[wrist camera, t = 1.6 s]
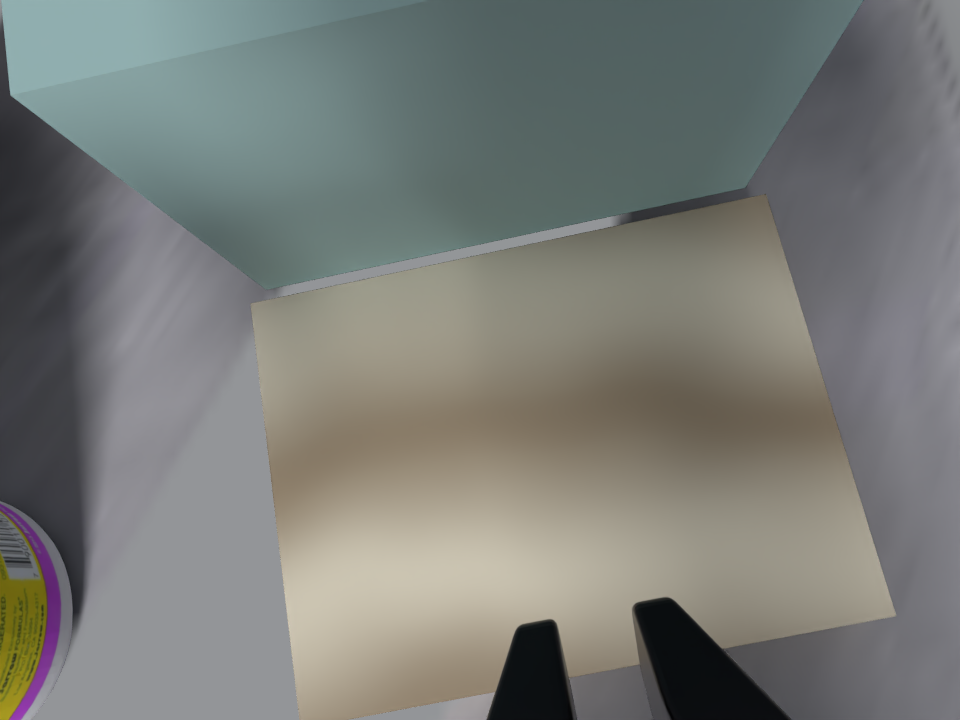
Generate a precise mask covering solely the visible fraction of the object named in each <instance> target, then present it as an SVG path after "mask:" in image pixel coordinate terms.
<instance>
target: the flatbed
mask: <svg viewBox="0 0 960 720" xmlns="http://www.w3.org/2000/svg"><path fill="white" fill-rule="evenodd" d="M250 304H251V313H252V321H253V329H254V338H255V346H256V355H257V363H258V372H259V380H260V388H261V397H262V404H263V405H262V406H263V414H264V423H265V430H266V439H267V448H268V455H269V465H270V473H271V482H272V490H273V498H274V507H275V516H276V524H277V533H278V541H279V549H280V558H281V566H282V575H283V583H284V592H285V600H286V608H287V617H288V626H289V633H290V641H291V642H290V643H291V651H292V659H293V668H294V676H295V685H296V692H297V701H298V710H299V719H300V720H348V719H354V718H359V717H364V716H370V715H375V714H380V713H386V712H391V711H396V710H401V709H407V708H411V707H417V706H423V705H428V704H433V703H439V702H444V701H449V700H455V699H460V698H465V697H470V696H476V695H481V694H486V693H492V692H496V688H497V685H498V682H499V679H500V676H501V673H502V670H503V666H504V663H505V660H506V657H507V654H508V651H509V648H510V644H511V641H512V638H513V635H514V632H515V630H516V629H517V627H518V626H519V625H522V624H525V623H531V622H536V621H541V620H546V619H552V620H554V621H555V622H556V623H557V625H558V629H559V634H560V639H561V643H562V648H563V652H564V657H565V661H566V666H567V671H568V675H569V678H571V677H576V676H582V675H587V674H592V673H598V672H603V671H608V670H614V669H619V668H624V667H630V666H635V665H640V662H639V656H638V650H637V643H636V637H635V630H634V624H633V617H632V607H633V605H634V604H635V603H637V602H641V601H646V600H651V599H656V598H662V597H669V598H672V599H673V600H675V601H676V602H677V603H678V604H679V605H680V606H681V607H682V608H683V609H684V610H685V611H686V612H687V613H688V614H689V615H690V616H691V617H692V618H693V619H694V620H695V621H696V622H697V624H698V625H699V626H700V627H701V628H702V629H703V630H704V631H705V632H706V633H707V634H708V635H709V636H710V637H711V638H712V639H713V640H714V641H715V642H716V643H717V644H718V645H719V646H720V647H721V648H722V649H725V648H730V647H736V646H741V645H746V644H751V643H757V642H762V641H767V640H773V639H778V638H783V637H789V636H794V635H799V634H805V633H810V632H815V631H820V630H826V629H831V628H836V627H842V626H847V625H852V624H858V623H863V622H868V621H873V620H879V619H884V618H889V617H895V616H896V614H895V610H894V607H893V604H892V601H891V597H890V594H889V591H888V588H887V584H886V581H885V578H884V575H883V571H882V568H881V565H880V562H879V558H878V555H877V552H876V549H875V546H874V542H873V539H872V536H871V533H870V529H869V526H868V523H867V520H866V516H865V513H864V510H863V507H862V503H861V500H860V497H859V494H858V490H857V487H856V484H855V481H854V478H853V474H852V471H851V468H850V465H849V461H848V458H847V455H846V452H845V448H844V445H843V442H842V439H841V435H840V432H839V429H838V426H837V422H836V419H835V416H834V413H833V410H832V406H831V403H830V400H829V397H828V393H827V390H826V387H825V384H824V380H823V377H822V374H821V371H820V367H819V364H818V361H817V358H816V354H815V351H814V348H813V345H812V341H811V338H810V335H809V332H808V329H807V325H806V322H805V319H804V316H803V312H802V309H801V306H800V303H799V299H798V296H797V293H796V290H795V286H794V283H793V280H792V277H791V273H790V270H789V267H788V264H787V261H786V257H785V254H784V251H783V248H782V244H781V241H780V238H779V235H778V231H777V228H776V225H775V222H774V218H773V215H772V212H771V209H770V205H769V202H768V199H767V196H766V194H764V195H759V196H754V197H750V198H745V199H740V200H736V201H731V202H726V203H721V204H717V205H712V206H707V207H703V208H698V209H693V210H688V211H684V212H679V213H674V214H670V215H665V216H660V217H655V218H651V219H646V220H641V221H637V222H632V223H627V224H622V225H618V226H613V227H608V228H604V229H599V230H595V231H590V232H585V233H580V234H575V235H571V236H566V237H562V238H557V239H552V240H547V241H542V242H538V243H533V244H529V245H524V246H519V247H514V248H509V249H505V250H500V251H495V252H491V253H486V254H482V255H476V256H472V257H467V258H462V259H458V260H453V261H449V262H443V263H439V264H434V265H429V266H425V267H420V268H416V269H410V270H406V271H401V272H396V273H392V274H387V275H383V276H378V277H373V278H368V279H363V280H359V281H354V282H349V283H345V284H340V285H335V286H330V287H326V288H321V289H316V290H312V291H307V292H302V293H297V294H293V295H288V296H283V297H279V298H274V299H269V300H264V301H260V302H255V303H250Z"/></svg>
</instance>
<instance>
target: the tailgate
mask: <svg viewBox="0 0 960 720" xmlns="http://www.w3.org/2000/svg"><path fill="white" fill-rule="evenodd" d="M863 1H864V0H1V3H2V13H3V24H4V34H5V44H6V55H7V65H8V75H9V85H10V95H11V96H12V97H13V98H15V99H16V100H17V101H19V102H20V103H21V104H23V105H24V106H25V107H26V108H28V109H29V110H30V111H32V112H33V113H34V114H36V115H37V116H38V117H40V118H41V119H42V120H44V121H45V122H46V123H48V124H49V125H50V126H51V127H53V128H54V129H55V130H57V131H58V132H59V133H61V134H62V135H63V136H65V137H66V138H67V139H69V140H70V141H71V142H72V143H74V144H75V145H76V146H78V147H79V148H80V149H82V150H83V151H84V152H86V153H87V154H88V155H90V156H91V157H92V158H94V159H95V160H96V161H97V162H99V163H100V164H101V165H103V166H104V167H105V168H107V169H108V170H109V171H111V172H112V173H113V174H115V175H116V176H117V177H119V178H120V179H121V180H122V181H124V182H125V183H126V184H128V185H129V186H130V187H132V188H133V189H134V190H136V191H137V192H138V193H140V194H141V195H142V196H144V197H145V198H146V199H147V200H149V201H150V202H151V203H153V204H154V205H155V206H157V207H158V208H159V209H161V210H162V211H163V212H165V213H166V214H167V215H168V216H170V217H171V218H172V219H174V220H175V221H176V222H178V223H179V224H180V225H182V226H183V227H184V228H186V229H187V230H188V231H190V232H191V233H192V234H193V235H195V236H196V237H197V238H199V239H200V240H201V241H203V242H204V243H205V244H207V245H208V246H209V247H211V248H212V249H213V250H215V251H216V252H217V253H218V254H220V255H221V256H222V257H224V258H225V259H226V260H228V261H229V262H230V263H232V264H233V265H234V266H236V267H237V268H238V269H239V270H241V271H242V272H243V273H245V274H246V275H247V276H249V277H250V278H251V279H253V280H254V281H255V282H257V283H258V284H259V285H261V286H262V287H263V288H264V289H266V290H268V289H272V288H277V287H282V286H286V285H291V284H296V283H300V282H305V281H309V280H315V279H319V278H324V277H329V276H333V275H338V274H343V273H347V272H352V271H357V270H362V269H366V268H371V267H376V266H380V265H385V264H390V263H394V262H399V261H404V260H408V259H413V258H418V257H423V256H427V255H432V254H436V253H441V252H446V251H451V250H455V249H460V248H464V247H470V246H474V245H478V244H484V243H488V242H493V241H498V240H502V239H507V238H512V237H517V236H521V235H526V234H531V233H535V232H540V231H544V230H549V229H554V228H559V227H563V226H568V225H573V224H578V223H582V222H587V221H592V220H596V219H601V218H606V217H611V216H615V215H620V214H625V213H629V212H634V211H639V210H643V209H648V208H653V207H658V206H662V205H667V204H672V203H676V202H681V201H686V200H690V199H695V198H700V197H705V196H709V195H714V194H719V193H723V192H728V191H733V190H737V189H742V188H746V186H747V184H748V183H749V181H750V180H751V178H752V176H753V175H754V173H755V172H756V170H757V169H758V167H759V165H760V164H761V162H762V161H763V159H764V157H765V156H766V154H767V153H768V151H769V150H770V148H771V146H772V145H773V143H774V142H775V140H776V138H777V137H778V135H779V134H780V132H781V130H782V129H783V127H784V126H785V124H786V123H787V121H788V119H789V118H790V116H791V115H792V113H793V111H794V110H795V108H796V107H797V105H798V104H799V102H800V100H801V99H802V97H803V96H804V94H805V92H806V91H807V89H808V88H809V86H810V85H811V83H812V81H813V80H814V78H815V77H816V75H817V73H818V72H819V70H820V69H821V67H822V66H823V64H824V62H825V61H826V59H827V58H828V56H829V54H830V53H831V51H832V50H833V48H834V46H835V45H836V43H837V42H838V40H839V39H840V37H841V35H842V34H843V32H844V31H845V29H846V27H847V26H848V24H849V23H850V21H851V20H852V18H853V16H854V15H855V13H856V12H857V10H858V8H859V7H860V5H861V4H862V2H863Z"/></svg>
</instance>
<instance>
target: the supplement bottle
mask: <svg viewBox="0 0 960 720" xmlns="http://www.w3.org/2000/svg"><path fill="white" fill-rule="evenodd" d="M72 616H73V607H72V594H71V588H70V582H69V578H68V575H67V571H66V568H65V565H64V562H63V560H62V558H61V556H60V553H59V551H58V550H57V548H56V546H55V545H54V543H53V541H52V540H51V539H50V538H49V536H48V535H47V534H46V533H45V532H44V530H43V529H42V528H41V527H40V526H39V525H38V524H37V523H36V522H35V521H34V520H32V519H31V518H30V517H28V516H27V515H26V514H24V513H23V512H21V511H20V510H18V509H16V508H15V507H13V506H11V505H9V504H6V503H4V502H1V501H0V720H31V719H32V718H33V717H34V716H35V714H36V713H37V712H38V711H39V709H40V708H41V707H42V705H43V704H44V702H45V701H46V699H47V697H48V696H49V694H50V693H51V691H52V690H53V688H54V686H55V684H56V681H57V679H58V677H59V675H60V673H61V670H62V668H63V666H64V663H65V660H66V657H67V653H68V650H69V646H70V641H71V635H72Z"/></svg>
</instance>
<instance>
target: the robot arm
mask: <svg viewBox="0 0 960 720" xmlns="http://www.w3.org/2000/svg"><path fill="white" fill-rule="evenodd" d="M632 617H633V624H634V630H635V637H636V643H637V650H638V656H639V662H640V667H641V672H642V676H643V680H644V684H645V688H646V692H647V696H648V700H649V704H650V708H651V712H652V716H653V720H791V719H790V718H789V717H788V715H787V714H786V713H785V712H784V711H783V710H782V709H781V708H780V707H779V706H778V705H777V704H776V703H775V702H774V701H773V700H772V699H771V698H770V697H769V696H768V695H767V694H766V693H765V692H764V691H763V690H762V689H761V688H760V687H759V686H758V685H757V684H756V683H755V682H754V681H753V680H752V679H751V678H750V677H749V676H748V675H747V674H746V673H745V672H744V671H743V670H742V668H741V667H740V666H739V665H738V664H737V663H736V662H735V661H734V660H733V659H732V658H731V657H730V656H729V655H728V654H727V653H726V652H725V651H724V650H723V649H722V648H721V647H720V646H719V645H718V644H717V643H716V642H715V641H714V640H713V639H712V638H711V637H710V636H709V635H708V634H707V633H706V632H705V631H704V630H703V629H702V628H701V627H700V626H699V625H698V624H697V622H696V621H695V620H694V619H693V618H692V617H691V616H690V615H689V614H688V613H687V612H686V611H685V610H684V609H683V608H682V607H681V606H680V605H679V604H678V603H677V602H676V601H675V600H673V599H672V598H669V597H662V598H656V599H651V600H646V601H641V602H637V603H635V604H634V605H633V607H632ZM487 720H577V716H576V711H575V705H574V700H573V695H572V690H571V685H570V680H569V675H568V671H567V666H566V661H565V657H564V652H563V648H562V643H561V639H560V634H559V629H558V625H557V623H556V622H555V621H554V620H552V619H546V620H541V621H536V622H531V623H525V624H522V625H519V626H518V627H517V629H516V630H515V632H514V635H513V638H512V641H511V644H510V648H509V651H508V654H507V657H506V660H505V663H504V666H503V670H502V673H501V676H500V679H499V682H498V685H497V688H496V692H495V695H494V698H493V701H492V704H491V707H490V710H489V713H488V717H487Z"/></svg>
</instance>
